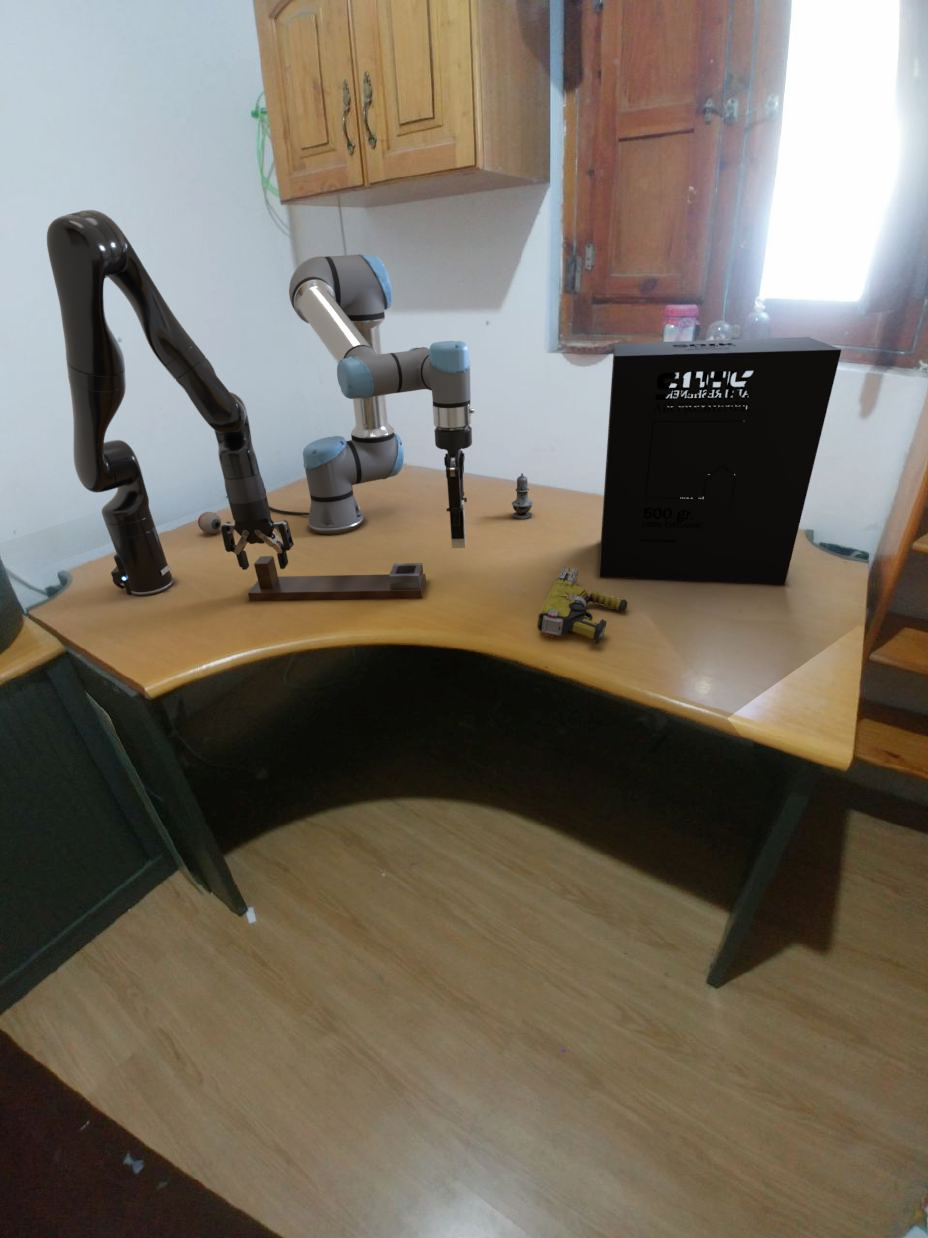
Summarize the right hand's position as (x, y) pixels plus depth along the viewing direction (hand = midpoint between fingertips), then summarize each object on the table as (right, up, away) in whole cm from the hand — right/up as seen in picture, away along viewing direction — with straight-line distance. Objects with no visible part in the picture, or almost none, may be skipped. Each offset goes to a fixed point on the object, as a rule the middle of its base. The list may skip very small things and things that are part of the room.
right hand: (458, 534), depth 133 cm
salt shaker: (+18, +10, +35) cm, 41 cm away
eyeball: (-69, +5, +36) cm, 78 cm away
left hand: (-42, -8, -2) cm, 43 cm away
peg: (0, -2, +1) cm, 3 cm away
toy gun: (+26, -18, -14) cm, 34 cm away
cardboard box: (+52, -6, +5) cm, 52 cm away
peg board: (-27, -12, +1) cm, 29 cm away
